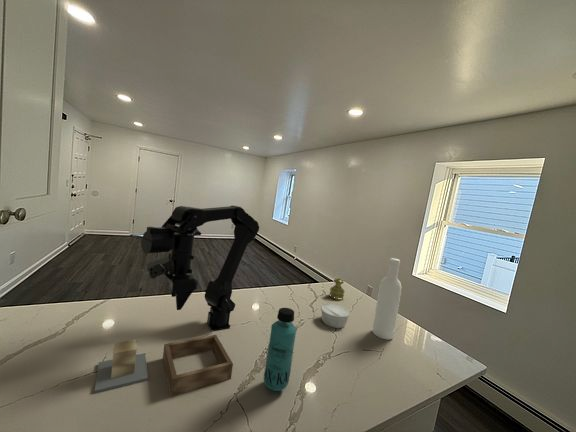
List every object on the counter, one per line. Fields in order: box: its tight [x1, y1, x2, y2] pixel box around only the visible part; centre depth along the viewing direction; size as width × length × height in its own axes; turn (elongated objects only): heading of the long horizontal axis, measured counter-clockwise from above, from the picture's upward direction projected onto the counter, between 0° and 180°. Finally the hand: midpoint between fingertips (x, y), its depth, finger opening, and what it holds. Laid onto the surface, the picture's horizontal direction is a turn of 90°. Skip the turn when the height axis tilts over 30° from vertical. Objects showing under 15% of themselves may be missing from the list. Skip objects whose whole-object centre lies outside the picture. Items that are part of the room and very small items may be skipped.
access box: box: [162, 334, 234, 397], centre depth 65 cm, size 14×14×4 cm
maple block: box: [111, 338, 138, 378], centre depth 60 cm, size 4×4×6 cm
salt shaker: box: [329, 278, 346, 301], centre depth 130 cm, size 7×7×10 cm
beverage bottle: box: [263, 307, 297, 392], centre depth 62 cm, size 6×7×20 cm
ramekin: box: [321, 303, 350, 329], centre depth 102 cm, size 11×11×5 cm
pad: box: [94, 352, 149, 394], centre depth 60 cm, size 10×10×1 cm
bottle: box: [372, 257, 403, 341], centre depth 97 cm, size 8×8×30 cm
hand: (176, 302), depth 73 cm, fingers open, 9 cm apart
